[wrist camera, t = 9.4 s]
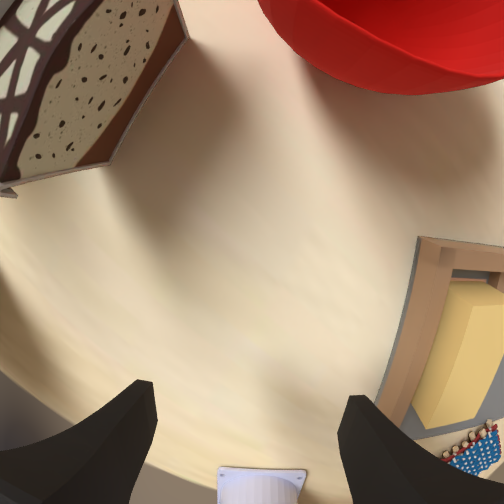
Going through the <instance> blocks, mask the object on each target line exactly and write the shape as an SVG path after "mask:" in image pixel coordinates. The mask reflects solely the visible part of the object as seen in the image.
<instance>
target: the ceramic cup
mask: <svg viewBox="0 0 504 504" xmlns="http://www.w3.org/2000/svg"><path fill="white" fill-rule="evenodd" d="M258 2H259V5H260V7H261V9H262V11H263V13H264V14H265V16H266V17H267V19H268V20H269V22H270V23H271V24H272V26H273V27H274V29H275V30H276V32H277V33H278V35H279V36H280V37H281V38H282V39H283V40H284V41H285V42H286V43H287V44H288V45H289V46H290V47H291V48H292V49H293V50H294V51H295V52H296V53H297V54H298V55H300V56H301V57H302V58H304V59H305V60H306V61H308V62H309V63H310V64H312V65H313V66H314V67H316V68H318V69H320V70H321V71H323V72H325V73H327V74H329V75H330V76H332V77H334V78H336V79H338V80H341V81H344V82H346V83H349V84H351V85H354V86H356V87H360V88H364V89H368V90H372V91H377V92H380V93H388V94H402V95H423V94H432V93H441V92H450V91H456V90H462V89H468V88H472V87H477V86H481V85H486V84H489V83H493V82H495V81H498V80H501V79H504V0H258Z"/></svg>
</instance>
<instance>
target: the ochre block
mask: <svg viewBox="0 0 504 504" xmlns="http://www.w3.org/2000/svg"><path fill="white" fill-rule="evenodd" d="M503 354H504V293H502V292H500V291H499V290H497V289H495V288H494V287H492V286H490V285H488V284H487V283H485V282H483V281H454V280H450V284H449V288H448V292H447V296H446V300H445V304H444V308H443V311H442V315H441V319H440V322H439V325H438V329H437V332H436V335H435V338H434V341H433V344H432V347H431V350H430V353H429V356H428V359H427V362H426V365H425V367H424V370H423V373H422V376H421V378H420V381H419V383H418V386H417V388H416V391H415V393H414V396H413V398H412V400H411V404H412V406H413V408H414V409H415V411H416V413H417V415H418V416H419V418H420V420H421V422H422V423H423V425H424V427H425V429H431V428H435V427H440V426H445V425H449V424H453V423H457V422H461V421H465V420H469V419H473V418H474V417H475V416H476V414H477V412H478V410H479V408H480V406H481V404H482V402H483V400H484V398H485V396H486V394H487V392H488V390H489V387H490V385H491V383H492V381H493V379H494V376H495V374H496V372H497V369H498V367H499V365H500V362H501V360H502V357H503Z"/></svg>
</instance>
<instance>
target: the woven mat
mask: <svg viewBox="0 0 504 504" xmlns="http://www.w3.org/2000/svg"><path fill="white" fill-rule="evenodd" d="M486 425H487V429H485V428H483V429H481V430H480V431H479V433H478V435H477V437H476V436H475V433H474V432H471V433H470V434H469V437H470V439H471V442H470V443H468V442H467V441H464V442H463V443H462V447H463V448H462V449H460V450H459V448H458V446H454V447H453V455H451V456H450V454H449V452H448V451H446V452H444V453H443V456H444V458H445V459H441V460H442V461H444V462H446V463H448V464H450V465H452V466H454V467H456V466H457V467H456V468H458V469H460V470H462V471H464V472H467V473H469V474H472V475H475V476H478V474H479V473H480V474H481V473H482V472H481V471H483V470H487V469H488V468H489V466H492V465H493V463H496V462H498V460H499V459H500V457H501V455H499V454H501V453H502V452H501V449H500V448H501V445H500V444H499V443H500V441H499V440H500V439H499V435H497V433H498V430H496V429H497V427H498V426H497V424H495V425H494V426H493V424H492V420H491V419H488V420H487V422H486ZM487 432H488V433H487ZM479 438H480V439H479ZM478 439H479V440H478ZM481 443H482V444H481ZM461 453H462V454H461Z"/></svg>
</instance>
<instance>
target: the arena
mask: <svg viewBox="0 0 504 504" xmlns="http://www.w3.org/2000/svg"><path fill="white" fill-rule="evenodd" d="M450 280H454V281H483V282H485V283H487V284H488V285H490V286H492V287H494V288H495V289H497V290H499V291H500V292H502V293H504V247H499V246H492V245H485V244H478V243H470V242H462V241H455V240H447V239H438V238H430V237H422V236H418V238H417V244H416V250H415V255H414V261H413V266H412V271H411V276H410V281H409V286H408V290H407V295H406V299H405V303H404V308H403V312H402V316H401V320H400V324H399V327H398V331H397V335H396V338H395V342H394V345H393V349H392V352H391V355H390V359H389V362H388V365H387V368H386V371H385V374H384V377H383V380H382V383H381V386H380V389H379V392H378V395H377V398H376V400H375V403H374V405H375V406H376V407H377V408H378V409H379V410H380V411H381V412H382V413H383V414H384V415H385V416H386V417H387V418H388V419H389V420H390V421H392V422H393V423H394V424H395V425H396V426H397V427H398V428H399V429H400V430H401V431H402V432H404V433H405V434H406V435H407V436H408V437H409V438H411V439H412V440H417V439H423V438H428V437H433V436H438V435H442V434H447V433H451V432H455V431H459V430H463V429H467V428H471V427H475V426H478V425H482V424H485V423H486V422H487V420H488V419H491V420H492V421H495V420H498V419H501V418H503V417H504V354H503V357H502V360H501V362H500V365H499V367H498V369H497V372H496V374H495V376H494V379H493V381H492V383H491V385H490V387H489V390H488V392H487V394H486V396H485V398H484V400H483V402H482V404H481V406H480V408H479V410H478V412H477V414H476V416H475V417H474V418H473V419H469V420H465V421H461V422H457V423H453V424H449V425H445V426H440V427H435V428H431V429H425V427H424V425H423V423H422V422H421V420H420V418H419V416H418V415H417V413H416V411H415V409H414V408H413V406H412V404H411V400H412V398H413V396H414V393H415V391H416V388H417V386H418V383H419V381H420V378H421V376H422V373H423V370H424V367H425V365H426V362H427V359H428V356H429V353H430V350H431V347H432V344H433V341H434V338H435V335H436V332H437V329H438V325H439V322H440V319H441V315H442V311H443V308H444V304H445V300H446V296H447V292H448V288H449V284H450Z"/></svg>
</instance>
